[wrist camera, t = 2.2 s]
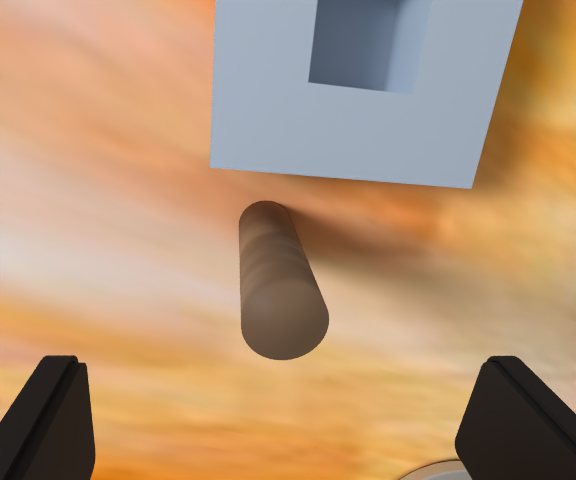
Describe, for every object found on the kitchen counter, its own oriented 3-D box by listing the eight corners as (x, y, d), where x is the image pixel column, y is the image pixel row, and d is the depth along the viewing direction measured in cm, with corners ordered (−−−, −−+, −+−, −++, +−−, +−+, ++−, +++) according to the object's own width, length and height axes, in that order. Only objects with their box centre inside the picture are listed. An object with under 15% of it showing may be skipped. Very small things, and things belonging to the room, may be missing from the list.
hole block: (487, -87, 18) (561, -137, 14) (427, 169, 23) (471, 188, 18) (226, -139, 16) (223, -214, 12) (214, 150, 21) (209, 167, 17)
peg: (294, 202, 22) (335, 286, 13) (288, 251, 23) (322, 360, 14) (240, 199, 22) (244, 282, 13) (237, 248, 23) (238, 359, 14)
